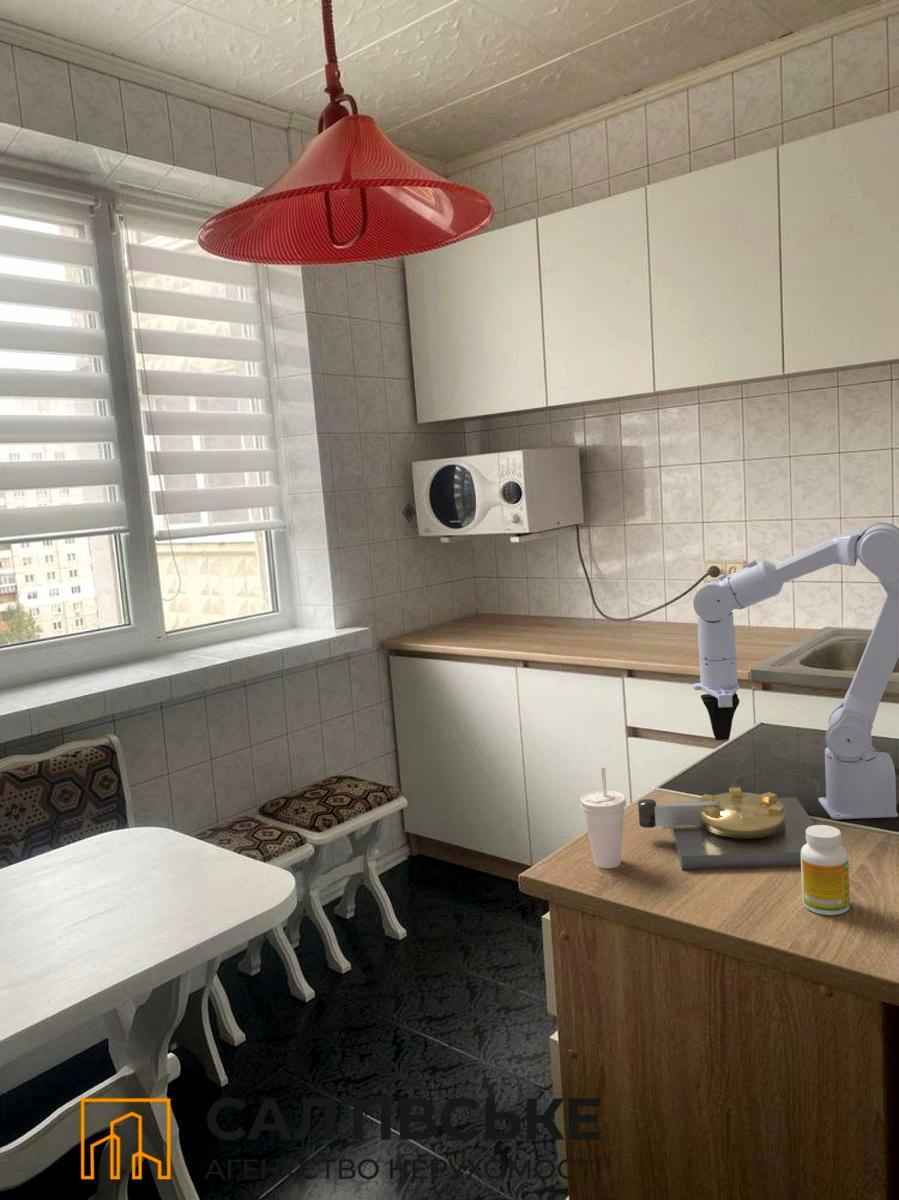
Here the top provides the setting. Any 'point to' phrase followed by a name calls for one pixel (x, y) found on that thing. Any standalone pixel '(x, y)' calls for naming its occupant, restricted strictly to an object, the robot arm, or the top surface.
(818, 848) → the supplement bottle
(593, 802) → the smoothie
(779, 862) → the plate
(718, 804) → the brass crank disc
